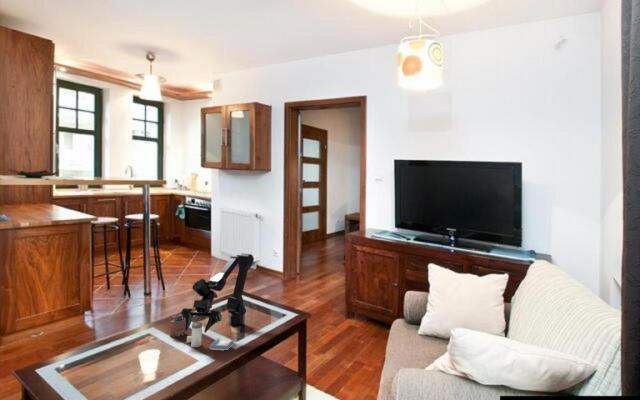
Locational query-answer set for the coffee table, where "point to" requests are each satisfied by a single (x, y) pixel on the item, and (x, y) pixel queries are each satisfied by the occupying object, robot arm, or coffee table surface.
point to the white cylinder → (196, 334)
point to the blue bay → (221, 345)
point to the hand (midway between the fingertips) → (195, 331)
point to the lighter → (178, 326)
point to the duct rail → (189, 339)
